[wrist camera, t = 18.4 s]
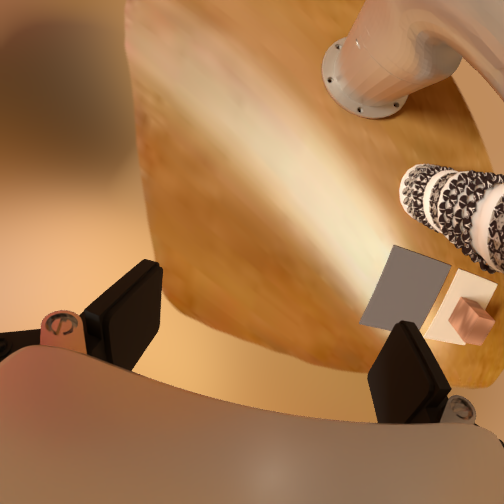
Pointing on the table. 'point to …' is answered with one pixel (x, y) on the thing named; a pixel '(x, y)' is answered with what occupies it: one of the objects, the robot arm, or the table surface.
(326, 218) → the table surface
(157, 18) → the table surface
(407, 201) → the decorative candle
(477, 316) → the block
